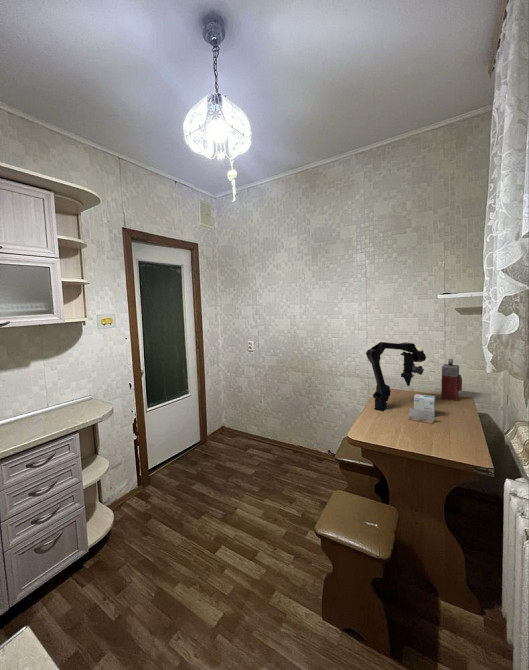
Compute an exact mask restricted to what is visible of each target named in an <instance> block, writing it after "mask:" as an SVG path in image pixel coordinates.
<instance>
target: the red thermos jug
mask: <svg viewBox="0 0 529 670" xmlns="http://www.w3.org/2000/svg"><path fill="white" fill-rule="evenodd" d="M447 360H448V361H447V362H448V363H445V364H443V365H441V391H440V392H441V394H440V395H441V397H440V398H441V400H446V401H447V400H448V401H452V400H453V402H458V400H459V392H462V391H463V378H462V375H461V374H460V366H459V365H458V364H454V358H448V359H447Z"/></svg>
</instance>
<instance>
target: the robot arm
mask: <svg viewBox="0 0 529 670" xmlns="http://www.w3.org/2000/svg"><path fill="white" fill-rule="evenodd" d="M386 349H387V350H390V349H391V350H400V351H402V353H400V356H403V365H402V366H403V370H402V372H401V373H400V377H401V378H403V380H404V382H405V383H406V386H407V387H410V386H411V382H412V378H414V376H415V374H418V375H419V376H422V375H423V373H424V371H425V368H423V366H422V365H418V366H417V365H416V364H415V362H417V363H418V362H425V361H426V360H427V357H426V356H427V355H426V353H425V351H424V350H419V349H418V348H417V346H416V345H415V343H413V342H401V343H400V342H399V343H396V342H395V343H394V342H385V341H384V342H383V341H380V342H378V343H376V344H375V345H374V346H372V347H371V348H369V349H367V350H366V353H365V355H366V358H367V360H368V361H369V362H370V364H371V366H372V371H373V374H374V378H375V382H376V387H375V392H374V393H373V394H372V396H373V399H374V407H373V410H374V409H375V411H380V412H385V410H387V409H388V401H389V399H390V396H391V392H392V390H391V388H390V385H388V384H387V383H386V382H385V378H384V375H383V370H382V368H381V367H382V366H381V363H380V362H381V355H383V353H384V351H385V350H386Z"/></svg>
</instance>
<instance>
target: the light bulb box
mask: <svg viewBox="0 0 529 670" xmlns="http://www.w3.org/2000/svg"><path fill="white" fill-rule="evenodd" d="M413 408H415V409H421V410H428V411H434V417H435V415H436V396H435V395H424V394H418V393H417V394H414V397H413Z"/></svg>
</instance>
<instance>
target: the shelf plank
mask: <svg viewBox="0 0 529 670" xmlns="http://www.w3.org/2000/svg"><path fill="white" fill-rule="evenodd" d="M408 421H412V422H419V423H424V424H429V425H430V424H431V425H434V423H435V421H434V422H433V421H427V420H421V419H415V418H408Z"/></svg>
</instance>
